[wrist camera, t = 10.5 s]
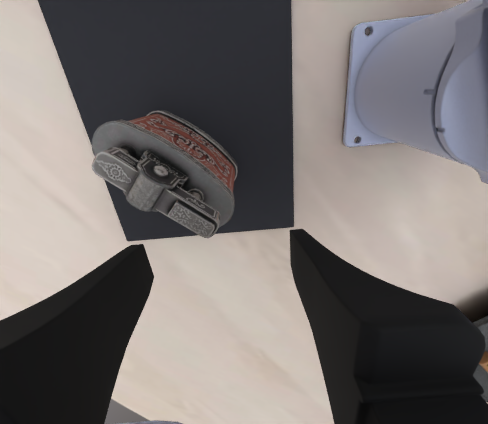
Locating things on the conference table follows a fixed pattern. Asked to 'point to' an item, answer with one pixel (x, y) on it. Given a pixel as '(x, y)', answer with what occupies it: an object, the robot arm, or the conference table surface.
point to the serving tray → (483, 358)
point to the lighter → (168, 169)
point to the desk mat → (189, 89)
